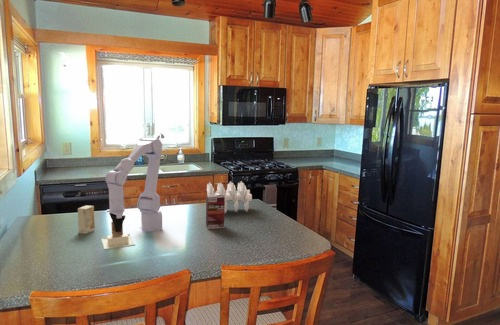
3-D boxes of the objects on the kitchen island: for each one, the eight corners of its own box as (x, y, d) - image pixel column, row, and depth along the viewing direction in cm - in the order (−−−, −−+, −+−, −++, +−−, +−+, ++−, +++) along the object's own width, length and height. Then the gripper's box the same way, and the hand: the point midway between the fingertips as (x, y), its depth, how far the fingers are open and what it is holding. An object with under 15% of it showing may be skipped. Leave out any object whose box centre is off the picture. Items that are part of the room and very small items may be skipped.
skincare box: (86, 235, 162) (85, 209, 160) (78, 234, 163) (76, 208, 161) (95, 230, 168) (94, 205, 166) (87, 229, 169) (86, 204, 167)
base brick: (127, 239, 156) (126, 233, 155) (128, 242, 152) (128, 236, 152) (107, 242, 152) (107, 235, 152) (108, 245, 148) (108, 238, 148)
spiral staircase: (251, 219, 203) (208, 219, 197) (245, 199, 217) (205, 199, 211) (257, 194, 193) (212, 194, 187) (250, 175, 208) (208, 174, 201)
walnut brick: (121, 231, 154) (121, 220, 153) (122, 234, 151) (122, 223, 150) (111, 233, 152) (111, 221, 152) (112, 236, 149) (112, 224, 148)
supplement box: (207, 229, 173) (207, 197, 170) (205, 226, 177) (205, 195, 175) (224, 228, 175) (225, 197, 173) (222, 225, 180) (222, 194, 177)
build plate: (129, 235, 162) (129, 234, 162) (135, 246, 150) (135, 244, 150) (101, 239, 156) (101, 237, 156) (104, 251, 144) (104, 249, 144)
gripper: (104, 196, 154) (105, 226, 156) (108, 204, 141) (109, 236, 143) (121, 194, 157) (122, 224, 159) (126, 202, 144) (127, 234, 146)
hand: (117, 230), depth 151 cm, fingers closed on walnut brick, 4 cm apart
